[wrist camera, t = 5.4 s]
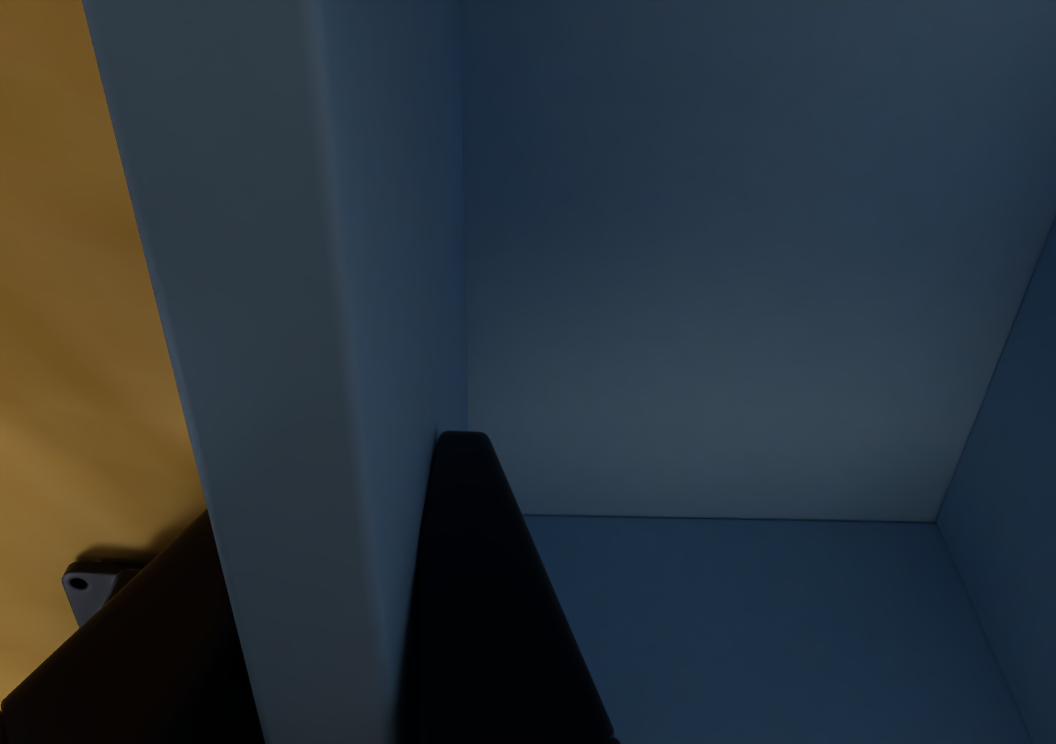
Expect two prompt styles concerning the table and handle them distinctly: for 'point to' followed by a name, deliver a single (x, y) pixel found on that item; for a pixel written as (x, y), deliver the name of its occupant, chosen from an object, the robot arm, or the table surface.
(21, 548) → the table surface
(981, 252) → the top bin
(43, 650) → the table surface
